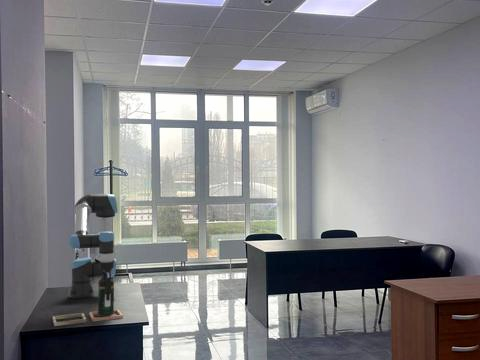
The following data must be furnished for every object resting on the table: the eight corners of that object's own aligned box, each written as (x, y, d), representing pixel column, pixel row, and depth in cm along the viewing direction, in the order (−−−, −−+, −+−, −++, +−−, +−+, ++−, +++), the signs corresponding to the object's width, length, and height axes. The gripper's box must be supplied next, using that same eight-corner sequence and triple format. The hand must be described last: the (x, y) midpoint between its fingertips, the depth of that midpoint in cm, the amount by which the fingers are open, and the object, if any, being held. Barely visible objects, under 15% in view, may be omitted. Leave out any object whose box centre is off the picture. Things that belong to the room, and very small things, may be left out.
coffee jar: (114, 315, 237) (114, 279, 238) (98, 317, 235) (98, 280, 235) (113, 311, 247) (113, 276, 247) (97, 312, 244) (98, 277, 245)
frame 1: (52, 319, 236) (52, 316, 236) (83, 315, 242) (83, 313, 242) (54, 326, 224) (54, 322, 224) (86, 322, 230) (86, 319, 230)
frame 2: (89, 315, 243) (89, 312, 243) (118, 312, 250) (118, 309, 250) (92, 321, 232) (92, 318, 232) (122, 318, 238) (122, 315, 238)
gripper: (95, 258, 250) (95, 300, 249) (102, 264, 230) (101, 310, 230) (110, 257, 253) (109, 299, 252) (117, 263, 233) (117, 308, 233)
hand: (106, 304), depth 241 cm, fingers closed on coffee jar, 9 cm apart
